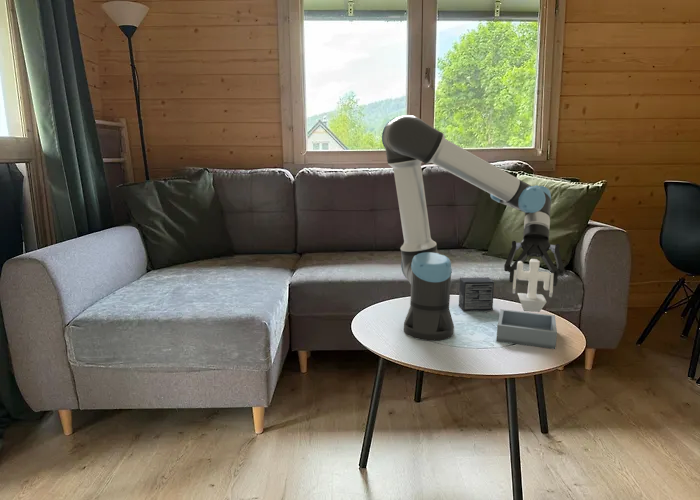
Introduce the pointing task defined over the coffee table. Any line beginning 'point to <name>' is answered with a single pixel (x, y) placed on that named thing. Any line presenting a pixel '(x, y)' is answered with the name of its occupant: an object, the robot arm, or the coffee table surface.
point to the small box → (476, 294)
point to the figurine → (532, 286)
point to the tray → (527, 329)
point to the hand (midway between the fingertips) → (532, 293)
